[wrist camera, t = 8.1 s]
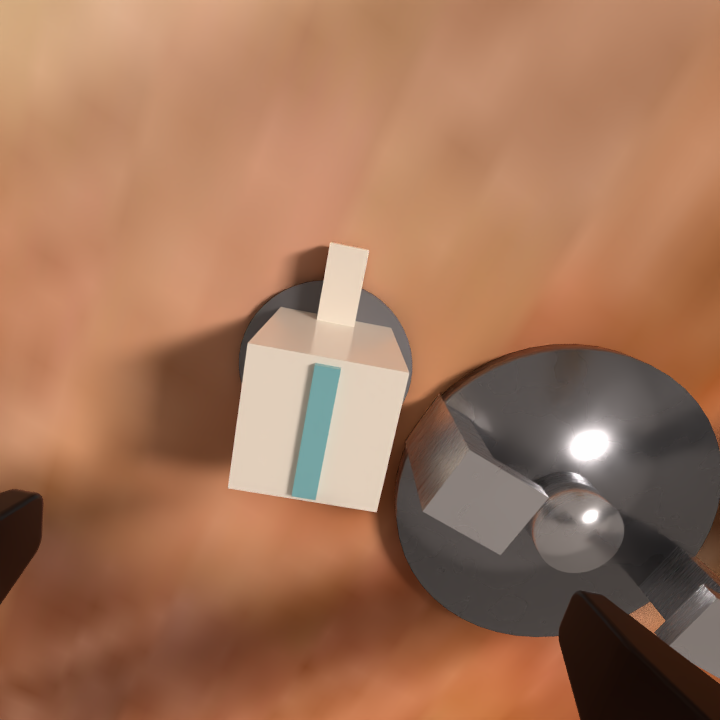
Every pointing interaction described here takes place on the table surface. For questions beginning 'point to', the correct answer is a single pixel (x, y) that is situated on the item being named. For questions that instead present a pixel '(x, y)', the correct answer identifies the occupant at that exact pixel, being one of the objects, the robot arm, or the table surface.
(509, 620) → the lugged metal disc
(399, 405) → the cream block with tab
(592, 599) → the robot arm
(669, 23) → the table surface
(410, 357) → the rubber pad
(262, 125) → the table surface
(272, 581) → the table surface
